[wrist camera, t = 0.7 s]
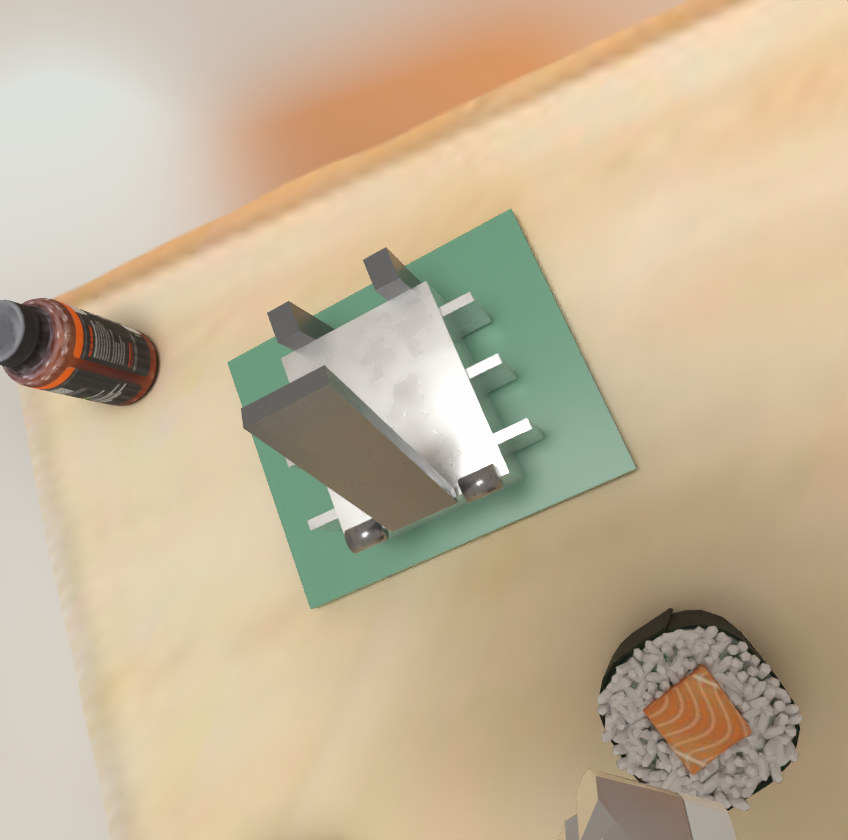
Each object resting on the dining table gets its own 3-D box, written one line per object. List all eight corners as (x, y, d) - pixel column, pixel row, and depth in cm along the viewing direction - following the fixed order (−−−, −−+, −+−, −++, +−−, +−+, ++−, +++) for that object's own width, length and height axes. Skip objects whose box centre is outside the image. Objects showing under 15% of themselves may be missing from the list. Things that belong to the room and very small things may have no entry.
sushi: (582, 670, 42) (564, 701, 34) (700, 581, 40) (708, 593, 33) (680, 799, 39) (683, 863, 32) (809, 708, 38) (844, 753, 30)
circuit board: (514, 214, 47) (511, 208, 46) (637, 469, 42) (636, 468, 41) (235, 365, 52) (227, 362, 51) (317, 607, 47) (310, 609, 46)
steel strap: (324, 364, 28) (328, 384, 28) (453, 486, 39) (458, 502, 38) (241, 408, 29) (243, 428, 29) (388, 515, 40) (392, 532, 39)
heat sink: (478, 291, 46) (450, 256, 40) (562, 475, 42) (545, 467, 36) (293, 387, 49) (241, 368, 43) (357, 566, 46) (311, 571, 40)
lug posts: (425, 286, 47) (386, 247, 40) (436, 313, 46) (398, 277, 40) (321, 342, 49) (267, 312, 42) (330, 368, 48) (277, 342, 42)
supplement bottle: (138, 314, 55) (12, 263, 45) (174, 373, 53) (51, 334, 43) (84, 364, 56) (-52, 325, 46) (117, 423, 54) (-16, 397, 44)
